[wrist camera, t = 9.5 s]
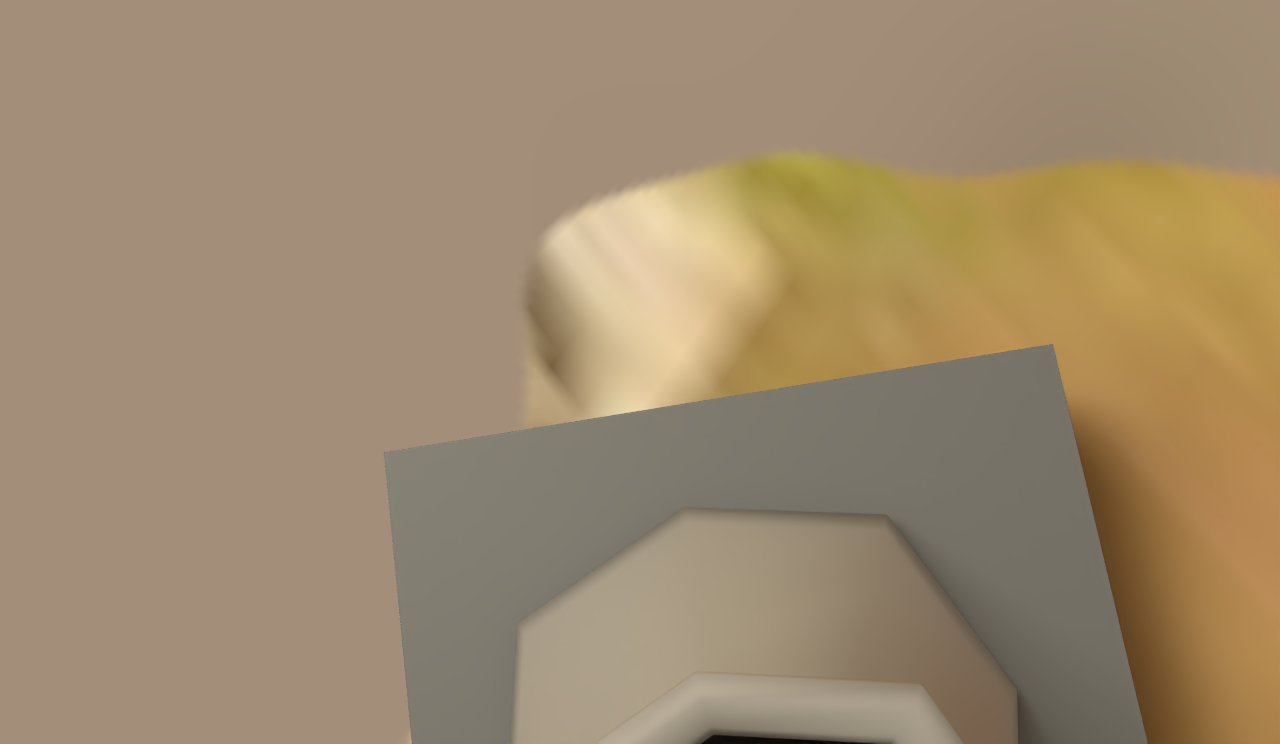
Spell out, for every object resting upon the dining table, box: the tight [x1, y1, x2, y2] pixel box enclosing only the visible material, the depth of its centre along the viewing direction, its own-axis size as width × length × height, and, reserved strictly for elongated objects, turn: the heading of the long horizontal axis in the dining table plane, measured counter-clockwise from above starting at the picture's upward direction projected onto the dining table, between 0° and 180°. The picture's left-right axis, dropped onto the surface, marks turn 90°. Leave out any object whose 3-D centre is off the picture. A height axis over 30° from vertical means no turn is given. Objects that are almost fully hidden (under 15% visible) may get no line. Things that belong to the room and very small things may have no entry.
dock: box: [384, 344, 1148, 744], centre depth 17 cm, size 10×10×3 cm
